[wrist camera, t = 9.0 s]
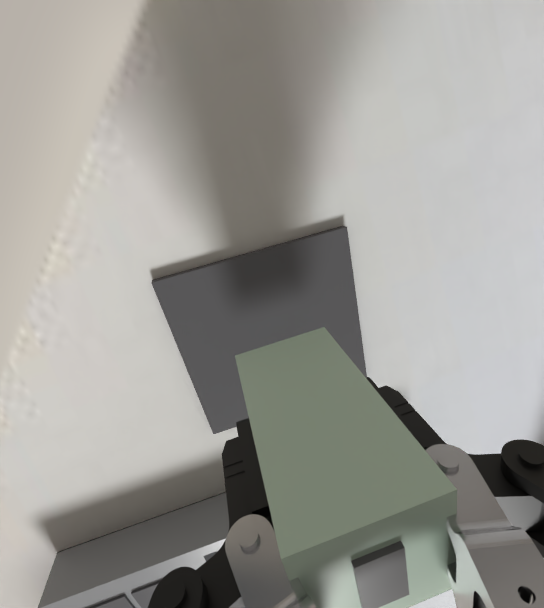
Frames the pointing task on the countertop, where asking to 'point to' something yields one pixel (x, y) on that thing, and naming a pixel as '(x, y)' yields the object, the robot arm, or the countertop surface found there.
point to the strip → (136, 558)
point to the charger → (345, 479)
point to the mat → (259, 312)
